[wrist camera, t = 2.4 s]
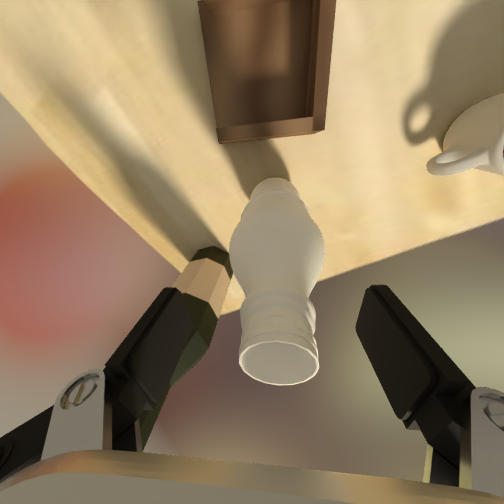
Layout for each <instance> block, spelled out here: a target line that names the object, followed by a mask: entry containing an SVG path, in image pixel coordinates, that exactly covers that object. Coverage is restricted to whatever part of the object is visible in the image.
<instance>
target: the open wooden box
mask: <svg viewBox="0 0 504 504" xmlns="http://www.w3.org/2000/svg"><path fill="white" fill-rule="evenodd" d="M198 6H199V13H200V19H201V26H202V33H203V39H204V46H205V52H206V59H207V65H208V72H209V78H210V85H211V92H212V98H213V105H214V111H215V118H216V124H217V128H216V130H217V136H218V142H219V144H225V143H234V142H243V141H253V140H262V139H271V138H280V137H289V136H298V135H307V134H314V133H317V132H320V131H322V130H324V129H325V118H326V107H327V96H328V85H329V74H330V63H331V52H332V41H333V30H334V19H335V8H336V0H202V1H198Z"/></svg>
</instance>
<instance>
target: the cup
mask: <svg viewBox="0 0 504 504" xmlns="http://www.w3.org/2000/svg"><path fill="white" fill-rule="evenodd" d="M472 168H474V169H478V170H482V171H486V172H491V173H495V174H499V175H504V93H501V94H498V95H495V96H492V97H489V98H487V99H485V100H482V101H480V102H478V103H476V104H475V105H473V106H471V107H470V108H468V109H467V110H465V111H464V112H463V113H462V114H461V115H460V116H459V117H458V118H457V119H456V120H455V121H454V122H453V123H452V124H451V126H450V127H449V129H448V131H447V133H446V135H445V138H444V141H443V152H442V153H440V154H438V155H436V156H435V157H433V158H431V159H430V160H429V161H428V162H427V170H428V172H429V173H430V174H432V175H436V176H450V175H455V174H458V173H461V172H464V171H467V170H470V169H472Z"/></svg>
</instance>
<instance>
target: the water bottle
mask: <svg viewBox="0 0 504 504" xmlns="http://www.w3.org/2000/svg"><path fill="white" fill-rule="evenodd" d="M229 257H230V263H231V267H232V270H233V273H234V275H235V277H236V279H237V281H238V283H239V285H240V286H241V288H242V290H243V291H244V293H245V296H246V298H245V300H244V301H243V303H242V306H241V309H240V317H241V327H242V331H243V332H242V338H241V345H240V348H239V364H240V366H241V367H242V369H243V371H244V372H245V373H247V374H248V375H249V376H251V377H252V378H254V379H256V380H259V381H261V382H264V383H269V384H274V385H294V384H298V383H302V382H305V381H307V380H309V379H310V378H312V377H313V376H315V374H316V373H317V371H318V369H319V363H318V350H317V346H316V340H315V338H314V336H313V334H314V331H315V319H316V314H315V309H314V306H313V304H312V302H311V301H310V300H309V299H308V298H309V294H310V292H311V291H312V289H313V287H314V286H315V284H316V282H317V280H318V278H319V276H320V273H321V271H322V268H323V264H324V259H325V246H324V240H323V237H322V234H321V232H320V229H319V227H318V226H317V225H316V223H315V222H314V221H313V220H312V218H311V217H310V215H309V211H308V209H307V207H306V205H305V204H304V202H303V201H302V200H301V199H300V195H299V193H298V191H297V189H296V188H295V186H294V185H293V184H292V183H290V182H289V181H288V180H285V179H283V178H274V177H273V178H268V179H265V180H264V181H262V182H260V183H259V184H258V185H257V186H256V187H255V188H254V190H253V192H252V194H251V196H250V200H249V202H248V204H247V205H246V207H245V209H244V210H243V213H242V215H241V220H240V222H239V223H238V225H237V226H236V228H235V230H234V232H233V234H232V237H231V241H230V247H229Z"/></svg>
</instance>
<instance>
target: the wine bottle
mask: <svg viewBox="0 0 504 504" xmlns="http://www.w3.org/2000/svg"><path fill="white" fill-rule="evenodd" d="M232 275H233V270H232V267H231V263H230V257H229V253H227V252H225V251H223V250H220V249H218V248H216V247H214V246H212V247H208V248H204V249H200V250H198V251H197V253H196V254H195V256H194V257H193V258H192V260H191V261H190V262H189V264H188V265H187V267H186V268H185V269H184V271H183V272H182V273H181V275H180V276H179V277H178V279H177V280H176V282H175V283H174V284H173V286H172V287H176V288H177V289H178V290H180V291H181V293H182V296H183V299H184V302H185V304H186V307H187V310H188V313H189V315H190V318H191V321H192V324H193V328H192V332H191V334H190V336H189V339H188V341H187V343H186V346H185V348H184V350H183V352H182V355H181V357H180V359H179V362H178V364H177V366H176V369H175V371H174V373H173V376H172V378H171V380H170V383H169V385H168V387H167V390H166V392H165V394H164V396H163V398H162V400H161V401H160V402H159V403H157V406H156V408H155V410H142V412H141V414H140V416H139V424H140V433H141V443H142V452H143V450H144V447H145V445H146V443H147V440H148V438H149V436H150V433H151V431H152V429H153V426H154V424H155V422H156V419H157V417H158V414H159V412H160V410H161V408H162V405H163V403H164V401H165V398H166V396H167V394H168V391H169V389H170V388H171V387H172V386H173V385H174V384H175V383H176V382H177V381H178V380H179V379H181V378H182V377H183V376H184V375H185V374H186V373H187V372H188V371H189V370H190V369H191V368H193V366H195V365H196V364H197V363H198V362H199V361H200V360H201V359H202V357H203V356H204V354H205V353H206V351H207V350H208V349H209V346H210V343H211V340H212V337H213V334H214V331H215V328H216V324H217V321H218V318H219V315H220V312H221V309H222V306H223V303H224V300H225V296H226V293H227V290H228V287H229V284H230V281H231V278H232Z"/></svg>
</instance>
